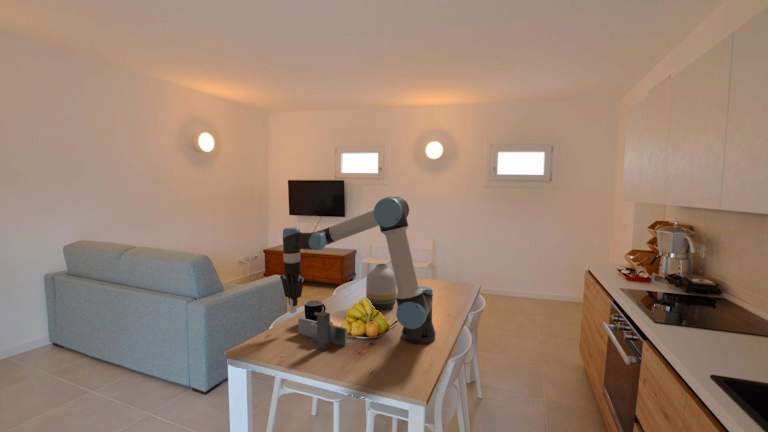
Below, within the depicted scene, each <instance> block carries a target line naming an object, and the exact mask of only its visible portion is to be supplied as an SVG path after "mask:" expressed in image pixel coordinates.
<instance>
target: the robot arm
mask: <svg viewBox="0 0 768 432" xmlns="http://www.w3.org/2000/svg"><path fill="white" fill-rule="evenodd" d="M409 213H410V206H409V204H408V202H407V201H406V200H405V199H404V198H402V197H400V196H386V197H384V198H381V199H380V200H378V201H377V202H376V204H375V206H374V208H373V210H370V211H367V212H364V213H362V214H359V215H358V216H355V217H352V218H349V219H347V220H344V221H341V222H339V223H337V224H334V225H331V226H328V227H326V228H323V229H321V230H317V231H313V232H302V231H301V230H300V228H299V227H295V226H294V227H285V228H283V229H282V250H283V251H282V253H283V257H282V259H283V260H282V261H283V271H284V272H283V273H284V274H282V275H280V276H279V278H280V280H281V284H282V289H283V293H284V297H285V298H287V299H288V305H289V313H290V314H295V313H297V309H298V308H297V306H298V299H299V298H301V297H302V292H303V287H304V282H305V280H306V278H305V277H303V276H301V272H300V271H301V269H302V268H301V265H302V264H301V250H310V251H322V250H324V249H325V247H326V246H328V245H331V244H333V243H335V242H338V241H341V240H343V239H346V238H349V237H352V236H354V235H357V234H360V233H362V232H365V231H368V230H370V229H373V228H376V227H379V230H380V233H382V235H384V236H385V239H386V243H387V248H388V253H389V257H390V261H391V266H392V269H393V270H392V271H393V272H394V275H395V280H396V284H397V285H396V290H397V292H396V304H397V308H396V318H397V321H398V323H399V324H400V325H401V326H402V330H401V338H402V340H404V341H406V342H407V343H411V344H417V345H419V344H420V345H422V344H429V343H432V342H433V341H435V340H436V331H435V328H434V324H433V302H434V301H433V300H434V299H433V297H434V294H433V289H432V288H431V287H428V286H424V285H419V284H418V280H417V279H418V278H417V274H416V271H415V266H414V261H413V257H412V253H411V248H410V245H409V244H410V243H409V239H408V236H407V230H408V228H409V223H408V220H407V218H408V216H409Z"/></svg>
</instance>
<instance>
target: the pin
mask: <svg viewBox="0 0 768 432" xmlns="http://www.w3.org/2000/svg"><path fill="white" fill-rule="evenodd" d="M330 317H331V315H330V312H326V311H325V312H321V313H319V314H317V342H316V350H318V351H321V352H325V351H327V350H329V349H330V342H329V331H330V322H331V320H330V319H331V318H330Z"/></svg>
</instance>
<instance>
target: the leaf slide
mask: <svg viewBox="0 0 768 432" xmlns="http://www.w3.org/2000/svg"><path fill="white" fill-rule="evenodd" d="M297 320H298V325H297V327H298V328H297V329H298V331H297V332H298V335H302V336H306V337H310V338H312V333H316V334H317V321H313V320H309V319H306V318H304V317H298V319H297ZM330 325H333V321H330Z"/></svg>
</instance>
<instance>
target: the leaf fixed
mask: <svg viewBox="0 0 768 432" xmlns="http://www.w3.org/2000/svg"><path fill="white" fill-rule="evenodd" d="M347 329H348V328H346V327H342V326H338V325H333V324H332V325H330V331H329V344H335V345H338V346H343V347H347V342H348V341H347V335H348V334H347V333H348V332H347ZM311 341H312V342H314V343H315V342H316V343H317V334H316V333H312V337H311Z"/></svg>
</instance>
